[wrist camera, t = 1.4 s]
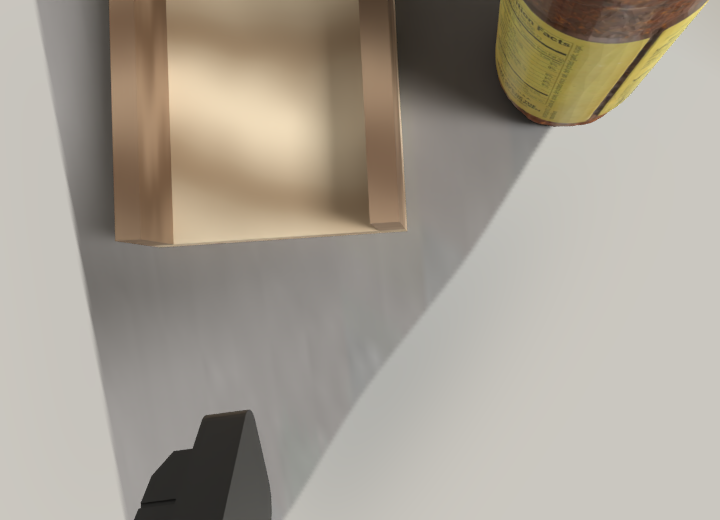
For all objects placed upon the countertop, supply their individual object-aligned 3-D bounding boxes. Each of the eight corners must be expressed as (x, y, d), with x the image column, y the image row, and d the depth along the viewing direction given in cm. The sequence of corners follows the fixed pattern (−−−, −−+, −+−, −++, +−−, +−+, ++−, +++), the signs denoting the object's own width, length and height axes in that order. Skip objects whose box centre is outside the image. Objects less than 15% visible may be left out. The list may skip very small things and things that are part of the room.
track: (149, -135, 30) (103, -198, 26) (384, -176, 28) (374, -251, 25) (160, 247, 29) (115, 241, 25) (407, 231, 27) (399, 221, 23)
